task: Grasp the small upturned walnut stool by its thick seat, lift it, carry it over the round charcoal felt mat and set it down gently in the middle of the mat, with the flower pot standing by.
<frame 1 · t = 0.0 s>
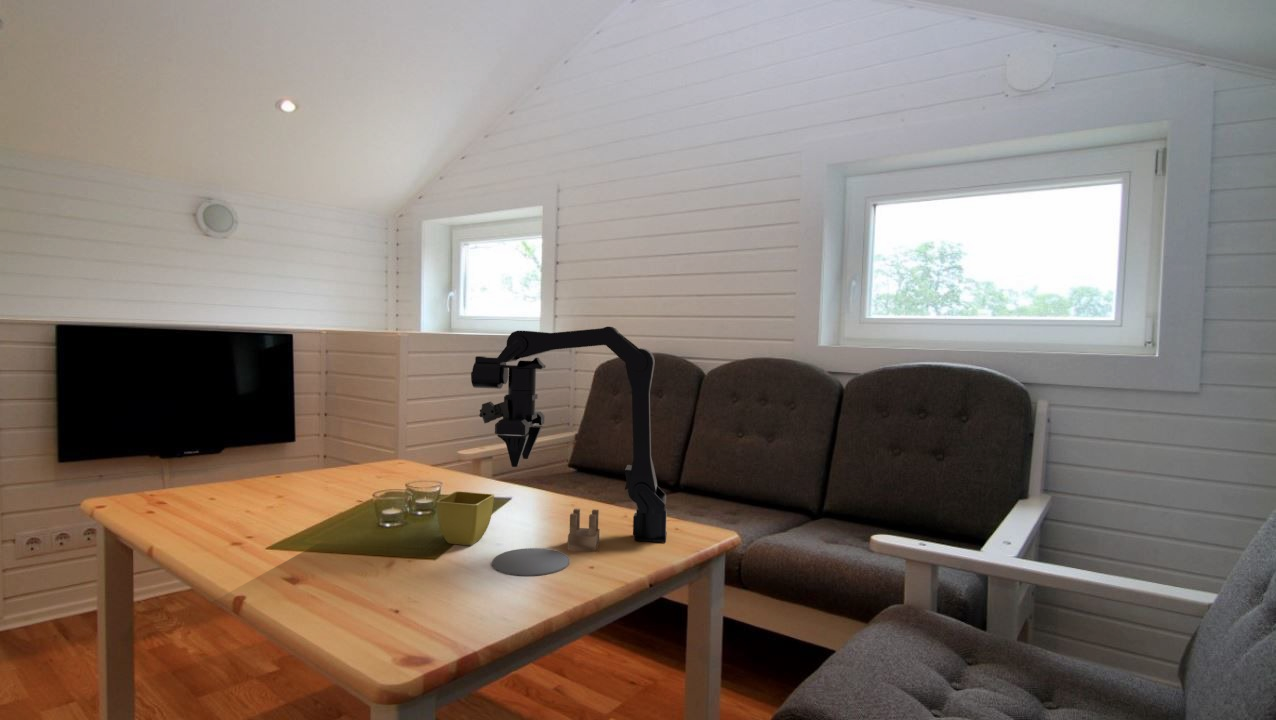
hand: (520, 462, 142), 15 cm above the table, fingers open, 9 cm apart
mat: (531, 562, 123), on the table
stool: (583, 546, 134), on the table
flower pot: (464, 542, 135), on the table
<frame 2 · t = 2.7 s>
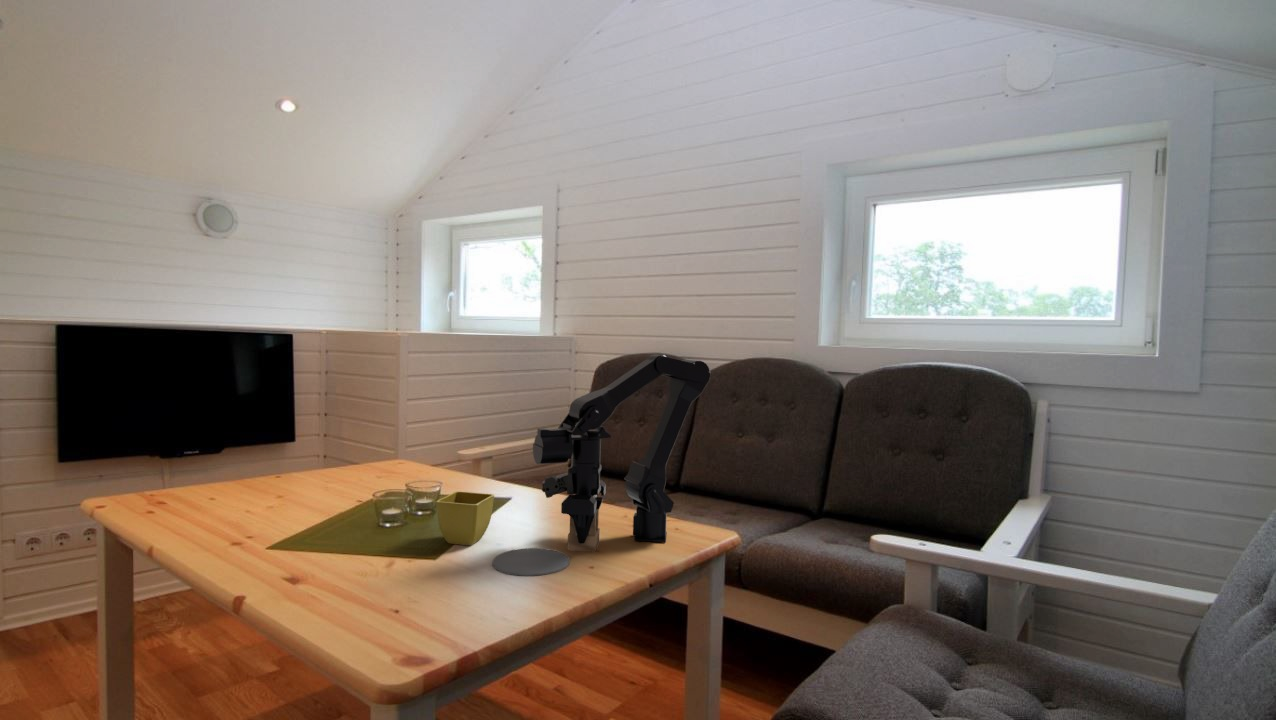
hand: (583, 538, 134), 2 cm above the table, fingers closed on stool, 5 cm apart
stool: (583, 546, 134), on the table, touching gripper
everything else where it was.
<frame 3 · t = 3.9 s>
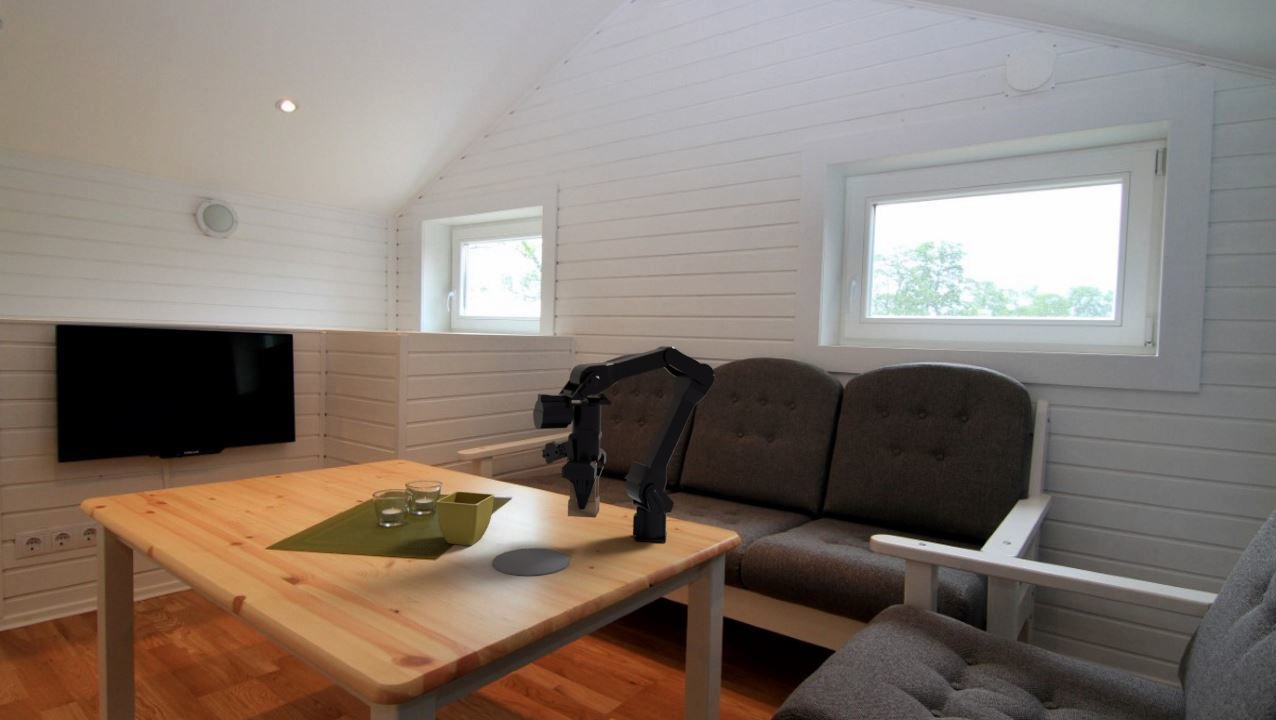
hand: (584, 505, 133), 8 cm above the table, fingers closed on stool, 5 cm apart
stool: (583, 513, 133), point 7 cm above the table, touching gripper
everything else where it was.
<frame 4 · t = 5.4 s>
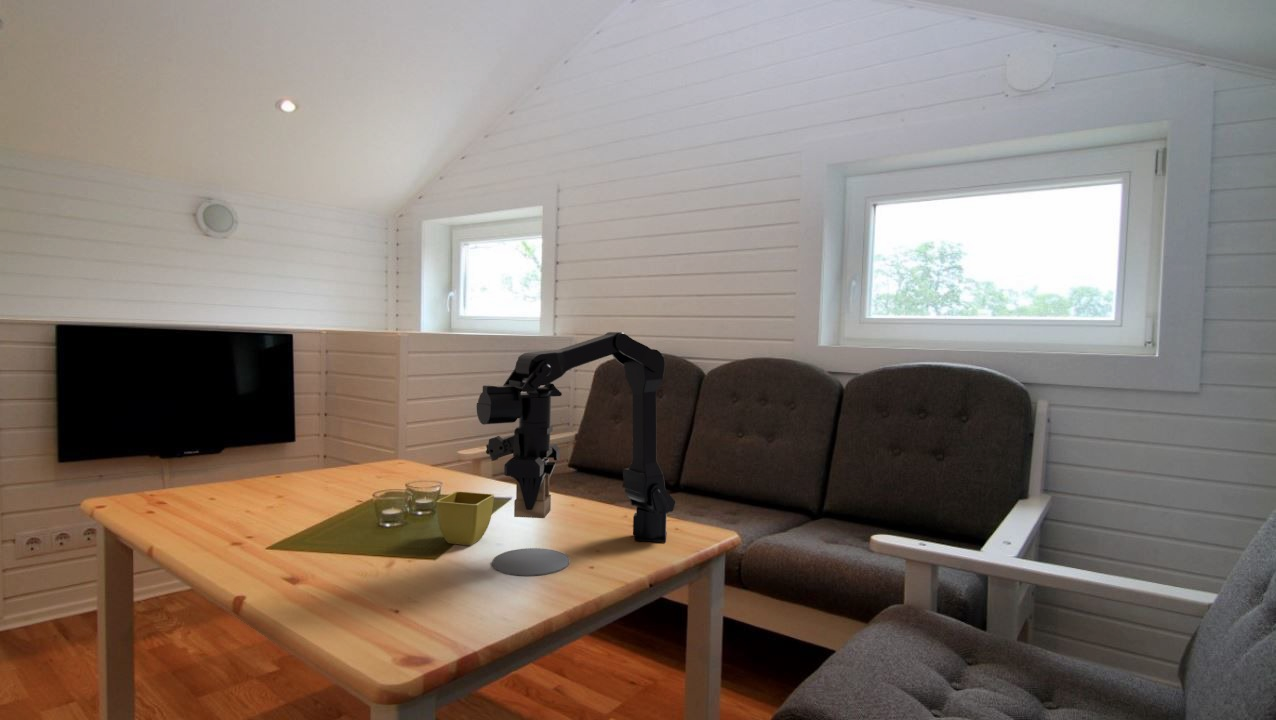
hand: (533, 505, 123), 11 cm above the table, fingers closed on stool, 5 cm apart
stool: (532, 513, 123), point 9 cm above the table, touching gripper
everything else where it was.
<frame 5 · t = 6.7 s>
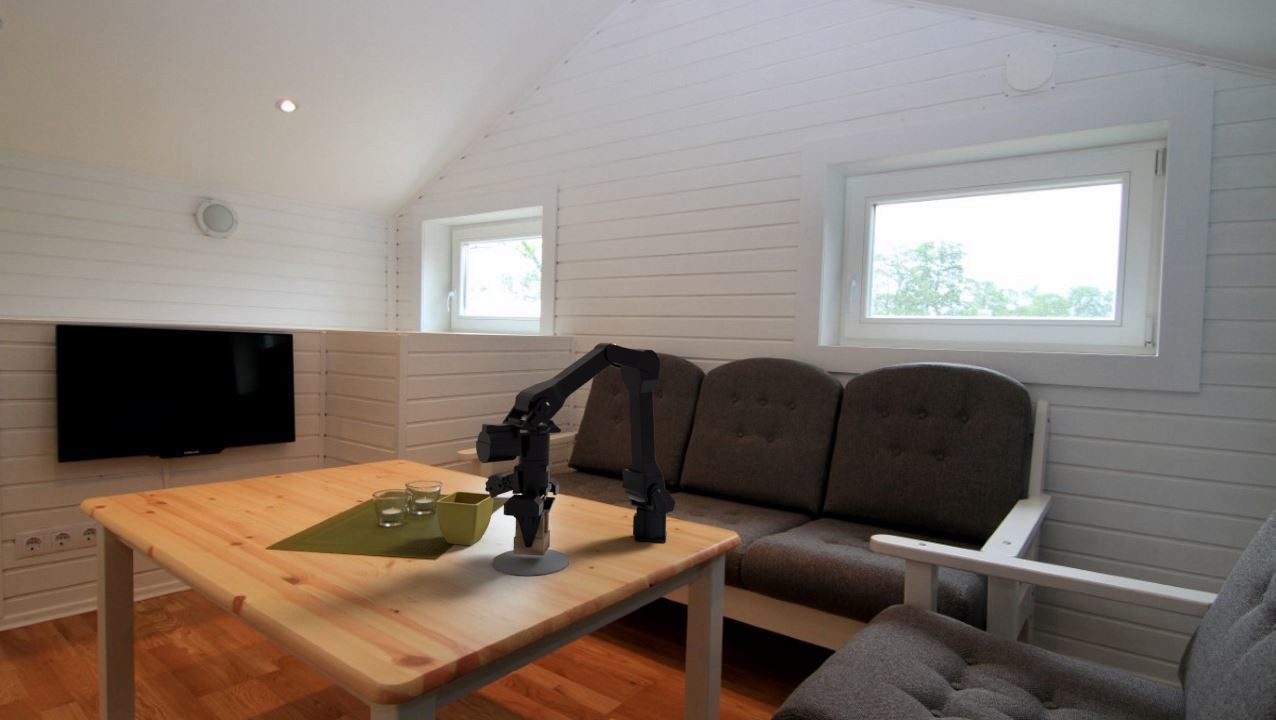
hand: (532, 542, 123), 4 cm above the table, fingers closed on stool, 5 cm apart
stool: (531, 549, 123), point 2 cm above the table, touching gripper
everything else where it was.
when the fingers open (3 cm above the table, at t = 7.8 s): stool drops 1 cm, resting on mat.
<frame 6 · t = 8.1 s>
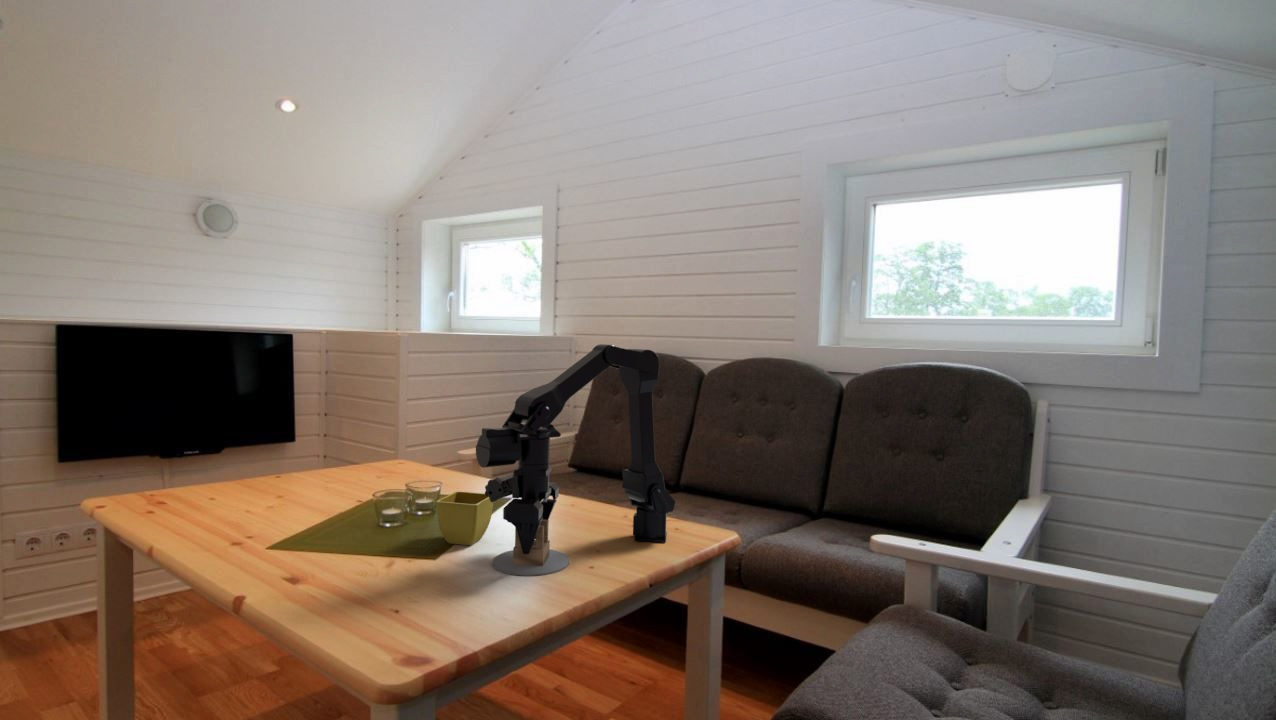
hand: (531, 546, 123), 3 cm above the table, fingers open, 8 cm apart
stool: (531, 560, 123), resting on mat
everything else where it was.
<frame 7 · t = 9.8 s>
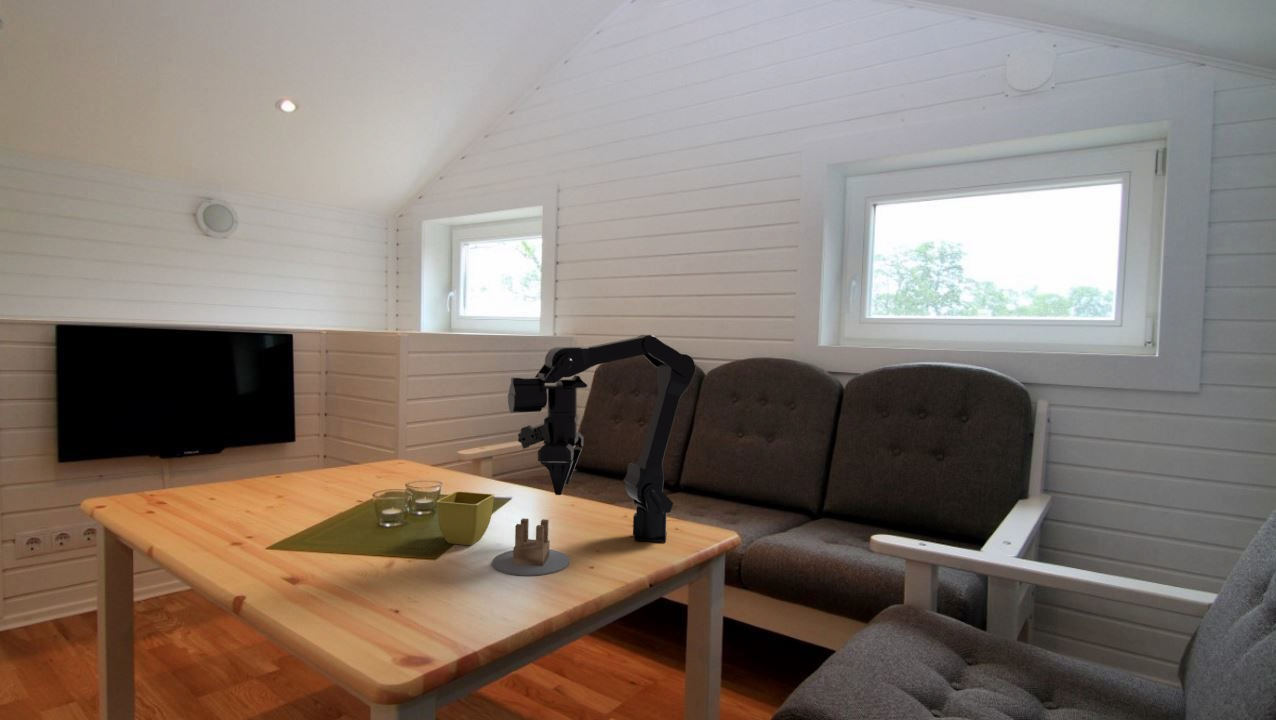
hand: (562, 489, 132), 12 cm above the table, fingers open, 9 cm apart
nothing on the table moved.
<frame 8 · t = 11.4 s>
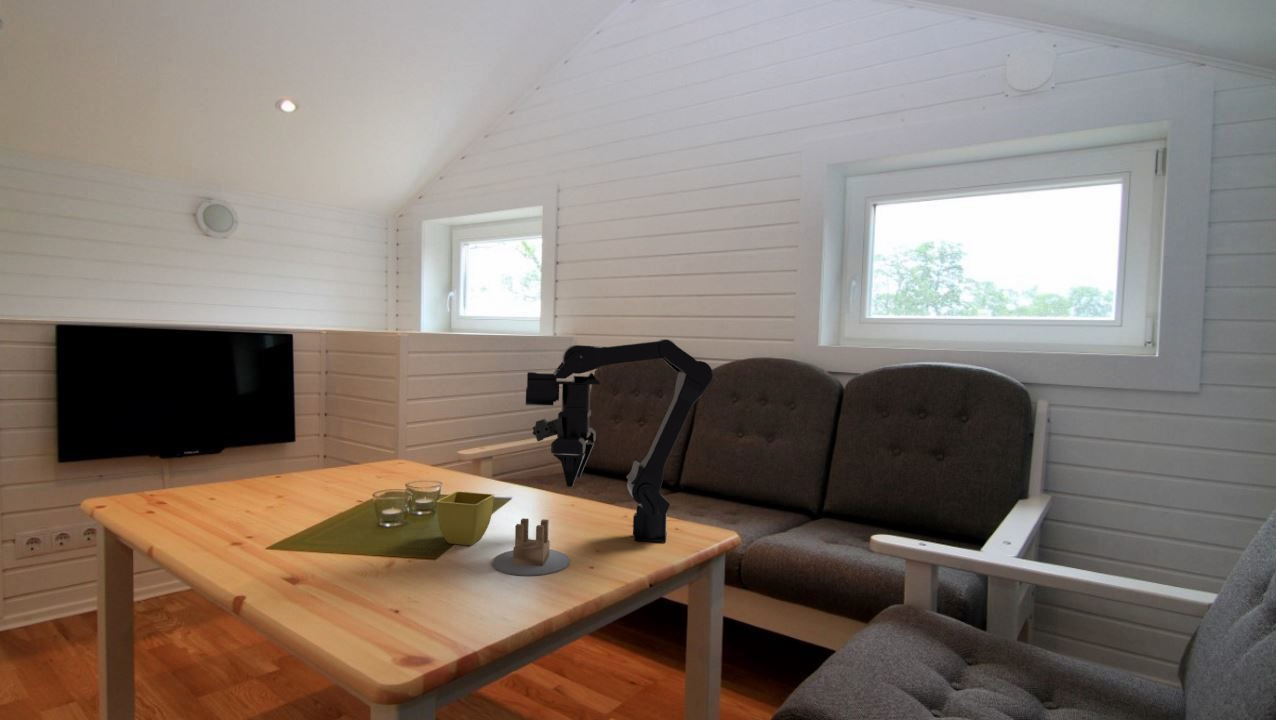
hand: (573, 481, 137), 12 cm above the table, fingers open, 9 cm apart
nothing on the table moved.
at the end: stool inside the target area on the mat (0.0 cm from its centre), point 0.4 cm above the mat's base; stool tilted 0°; the gripper is holding nothing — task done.
